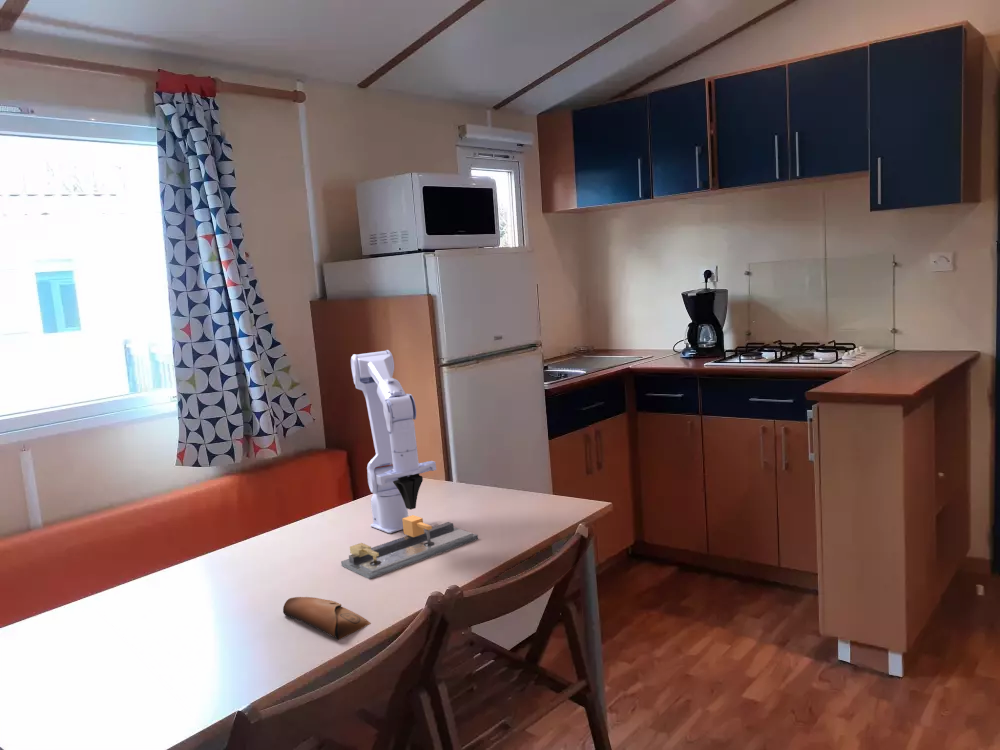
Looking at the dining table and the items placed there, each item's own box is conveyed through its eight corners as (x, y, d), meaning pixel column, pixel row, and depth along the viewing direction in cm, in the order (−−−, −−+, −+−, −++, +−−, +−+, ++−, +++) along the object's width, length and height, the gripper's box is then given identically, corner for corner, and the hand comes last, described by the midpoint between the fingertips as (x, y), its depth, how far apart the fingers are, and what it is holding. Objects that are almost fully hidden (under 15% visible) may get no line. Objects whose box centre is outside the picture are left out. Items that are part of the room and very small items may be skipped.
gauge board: (341, 565, 176) (339, 548, 175) (447, 528, 194) (446, 513, 193) (369, 579, 166) (367, 560, 166) (478, 539, 184) (476, 522, 184)
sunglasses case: (375, 622, 145) (356, 599, 142) (350, 654, 141) (330, 631, 138) (320, 600, 158) (301, 578, 155) (296, 629, 154) (276, 607, 151)
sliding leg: (404, 536, 185) (402, 518, 184) (415, 533, 186) (413, 515, 186) (426, 545, 178) (423, 526, 177) (437, 541, 179) (435, 522, 179)
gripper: (385, 459, 170) (392, 520, 172) (441, 444, 179) (447, 502, 181) (368, 454, 176) (376, 514, 178) (423, 441, 185) (430, 497, 186)
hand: (410, 508), depth 180 cm, fingers closed
